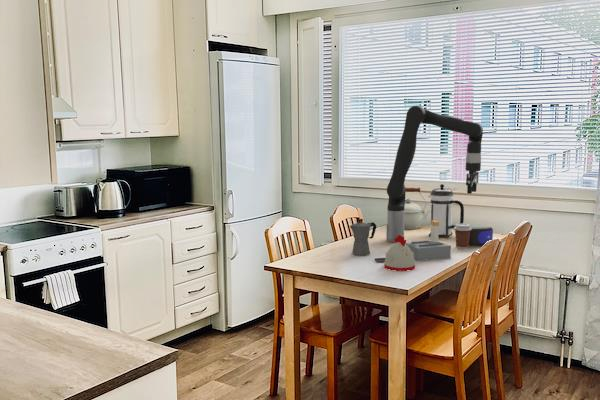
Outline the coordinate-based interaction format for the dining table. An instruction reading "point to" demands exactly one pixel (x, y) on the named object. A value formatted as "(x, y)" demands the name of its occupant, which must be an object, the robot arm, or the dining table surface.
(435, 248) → the box
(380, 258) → the cords
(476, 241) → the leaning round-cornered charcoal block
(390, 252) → the cream and red dome
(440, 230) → the coffee press
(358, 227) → the coffeepot
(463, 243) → the coffee cup
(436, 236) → the breaker slider
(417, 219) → the kettle
